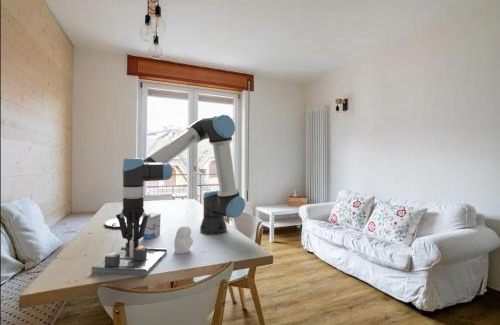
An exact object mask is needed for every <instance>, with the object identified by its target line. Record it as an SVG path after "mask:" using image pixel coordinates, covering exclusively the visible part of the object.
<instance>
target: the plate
mask: <svg viewBox="0 0 500 325" xmlns="http://www.w3.org/2000/svg"><path fill="white" fill-rule="evenodd" d="M142 217H143V215H142V216H141V218H140V221H139V227H141V223H142V220H143V218H142ZM124 218H125V216H124ZM125 222H126V218H125ZM113 223H116V226H112V224H113ZM104 224H105V226H106V227H112V228H117V229H120V224H119V220H118V219H117V217H116V218H112V219H109V220H107V221H105V222H104ZM126 226H127V224H126Z"/></svg>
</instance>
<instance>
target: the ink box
mask: <svg viewBox="0 0 500 325" xmlns="http://www.w3.org/2000/svg"><path fill="white" fill-rule="evenodd" d="M149 214H150V217H149V218H148V220H147V224H146V228H145V232H144V236H143V237H142V238H143V239H144V240H153V239H155V238H157V237H158V236H161V217H162V216H161V213H157V212H150V213H149Z"/></svg>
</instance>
